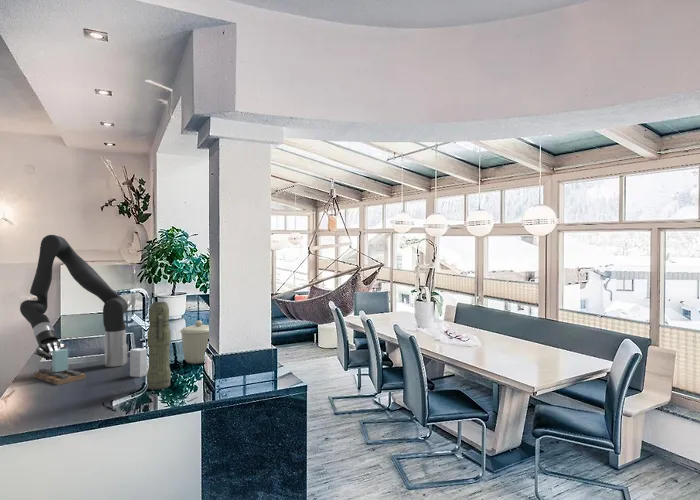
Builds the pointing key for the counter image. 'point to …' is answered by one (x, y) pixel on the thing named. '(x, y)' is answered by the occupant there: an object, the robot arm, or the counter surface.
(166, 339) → the thermos
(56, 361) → the fader tab
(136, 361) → the skincare box
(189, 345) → the canister
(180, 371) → the counter surface
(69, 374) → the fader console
